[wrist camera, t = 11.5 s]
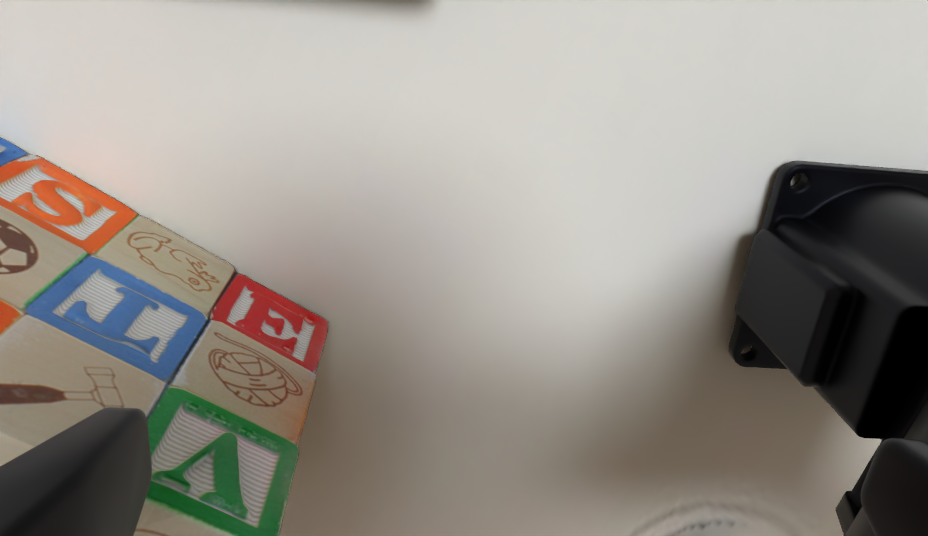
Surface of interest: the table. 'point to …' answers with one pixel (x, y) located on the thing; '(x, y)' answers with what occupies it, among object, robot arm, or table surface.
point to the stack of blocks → (149, 351)
